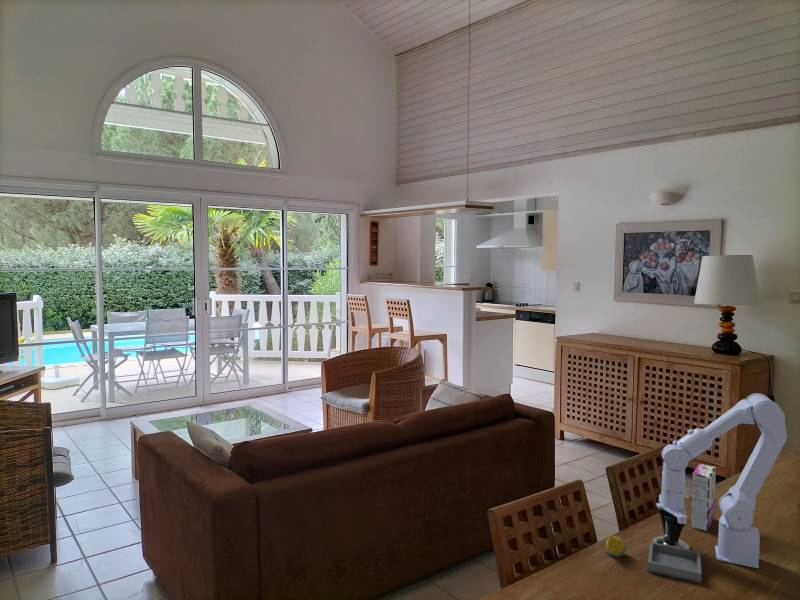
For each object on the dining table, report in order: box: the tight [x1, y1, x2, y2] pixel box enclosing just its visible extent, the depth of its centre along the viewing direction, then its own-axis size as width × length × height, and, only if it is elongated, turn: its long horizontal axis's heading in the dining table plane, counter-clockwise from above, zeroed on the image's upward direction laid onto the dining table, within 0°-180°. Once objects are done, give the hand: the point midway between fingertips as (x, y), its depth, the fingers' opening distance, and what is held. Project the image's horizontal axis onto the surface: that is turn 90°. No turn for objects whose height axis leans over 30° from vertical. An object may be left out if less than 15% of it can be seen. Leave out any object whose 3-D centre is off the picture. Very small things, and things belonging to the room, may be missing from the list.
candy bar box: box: [690, 463, 717, 532], centre depth 172 cm, size 11×5×16 cm, turn 143°
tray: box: [647, 541, 702, 585], centre depth 148 cm, size 12×12×2 cm
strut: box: [662, 523, 680, 548], centre depth 157 cm, size 4×4×7 cm
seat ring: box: [652, 535, 690, 550], centre depth 157 cm, size 9×9×1 cm
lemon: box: [604, 534, 627, 558], centre depth 152 cm, size 5×5×10 cm
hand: (670, 537), depth 157 cm, fingers closed on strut, 3 cm apart
